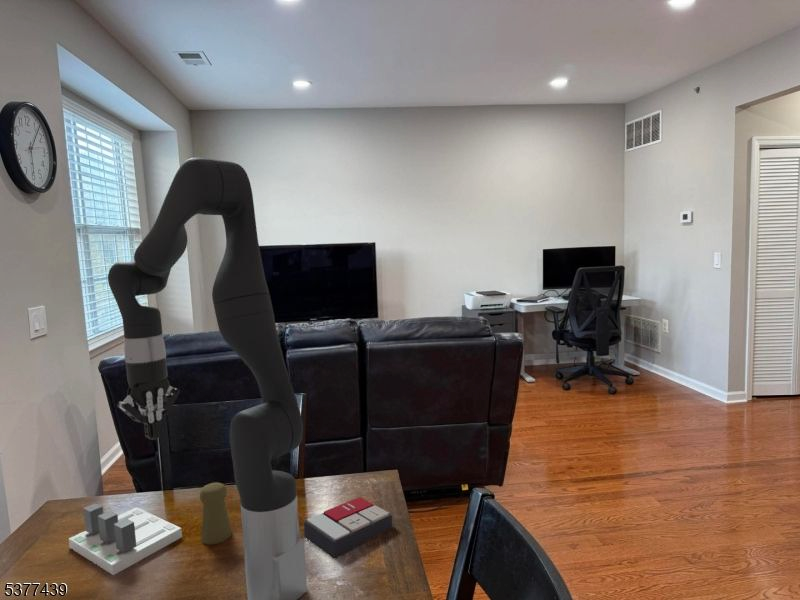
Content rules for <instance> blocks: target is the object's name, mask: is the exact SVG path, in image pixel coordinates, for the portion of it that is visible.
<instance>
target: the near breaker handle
mask: <svg viewBox="0 0 800 600" xmlns="http://www.w3.org/2000/svg"><path fill="white" fill-rule="evenodd" d="M114 531H115V541H116V549H118V550H120V551H121V552H123V553H125V552H127V551H129V550H131V549H133V548H135V547H136V537H135V527H134V522H133V521H131V520H129V519H127V518H126V519H124V520H122V521H119V522H117V523H115V524H114Z"/></svg>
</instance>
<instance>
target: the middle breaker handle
mask: <svg viewBox="0 0 800 600" xmlns="http://www.w3.org/2000/svg"><path fill="white" fill-rule="evenodd" d="M118 516H119V514H118V513H116V512H114V511H112V510H108V511H106V512H103V514H101V515H99V516H98V523H99V532H100V540H102V541H103V542H105V543H107V544H108V543H110V542H112V541H114V540H115V531H114V524H115V523H117V522H118Z"/></svg>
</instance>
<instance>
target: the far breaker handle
mask: <svg viewBox="0 0 800 600" xmlns="http://www.w3.org/2000/svg"><path fill="white" fill-rule="evenodd" d="M82 511H83V517H84V518H83V519H84V527H85V531H86V532H88V533H90V534H92V535H94V534H96V533H98V532H99V523H98V516H99V515H101V514H103V513H104V508H103V505H101V504H99V503H96V502H95V503H92V504H90V505H88V506H85V507H83V510H82Z"/></svg>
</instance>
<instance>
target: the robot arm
mask: <svg viewBox="0 0 800 600" xmlns="http://www.w3.org/2000/svg"><path fill="white" fill-rule="evenodd" d="M170 183H171V184H170V186H169V189H168V191H167V193H166V195H165V197H164V200H163V201H162V202H163V203H162V204H161V208H160V209H159V213H158V215H157V217H156V220H155V222H154V223H153V225H152V227H151V228H150V230H149V232H148V233H147V234H146V235H145V237H144V238H143V239H142V241H141V242H140V243H139V245H138V246H137V248H136V249H135V251H134V254H133V260H131V261H118V262H115V263H113V265H112V266H111V267H110V268H109V271H108V274H107V281H108V285H109V287H110V291H111V293H112V296H113V298H114V300H115V302H116V304H117V307H118V310H119V312H120V315H121V318H122V327H123V328H122V329H123V337H124V346H123V347H124V348H123V349H124V360H125V361H124V362H125V370H126V371H125V372H126V377H127V378H126V379H127V383H128V388H127V392H126V394H127V396H126V397H125V398H124V399H123V401H118V402H117V404H116V406H117V408H119V409H120V410H121V411H122V412H123V413H124V414H126V415H127V416H128V417H129V418H131V419H132V420H133V421H134V422H137V423H142V424H143V429H144V436H145V438H147V439H148V440H151V441H154V440H156V439H159V438H161V435H162V433H163V432H162V421H161V420H162V418H163V417H165V416H168V415H169V414H170V412H171V410H172V408H173V406H174V404H175V403H176V401H177V399H178V397H179V395H180V393H181V390H180V388H176V387H173V386H171V385H170V381H169V380H168V376H169V375H168V364H167V363H168V362H167V354H166V353H167V351H166V343H165V340H164V335H163V325H162V315H161V311H160V309H159V308H158V307H156V306H148V305H141V304H140V303H139V301H138V299H137V297H138V296H147V295H156V294H157V293H160V292H162V291H163V290H164V289H165V288H166V287H167V284H168V280H169V276H170V275H171V274H170V273H171V271H172V268H173V267H174V265H175V264H176V263H177V262H178V261H179V260H180V259H181V257H182V256H183V254H184V253H185V251H186V250H187V247H188V233H187V230H186V223H187V222H189V220H190V219H192V218H193V217H195V216H196V215H203V216H205V215H207V216H221V218H222V220H223V225H224V231H225V241H226V243H225V250H224V254H223V257H222V260H221V263H220V265H219V268H218V271H217V272H216V275H215V279H214V282H213V286H212V291H211V292H212V293H211V298H212V304H213V309H214V313H215V318H216V322H217V327H218V330H219V333H220V336H221V337H222V338H223V340H224V341H225V343H226V344H227V345H228V346H229V347H230V348H231V349H232V351H233V352H234V353H235V354H236V355H237V356H238V357H239V359H241V361H243V362H244V364H245V365H246V366H247V367H248V368H249V369H250V371H251V373H252V374H253V376H254V377H255V380H256V383H257V385H258V389H259V393H260V395H261V401H262V403H261V404H258V405H254V406H253V407H249V408H246V409H243V410H241V411H239V412H237V413H236V414H235V415H234V416H233V417H232V419H231V421H230V426H229V445H230V452H231V459H232V466H233V476H234V481H235V486H236V489H237V491H238V492H237V493H238V494H239V500H240V501H239V502H240V514H241V516H240V517H241V528H242V529H241V530H242V531H241V532H242V542H243V543H242V544H243V555H244V557H243V558H244V570H245V581H246V593H247V600H299V599H300V598H301V597H302V596H303V595H304V594H306V593H307V592H308V587H307V585H308V584H307V568H306V554H305V553H306V552H305V541H304V539H302V538H300V526H299V525H300V524H299V523H300V522H299V510H298V509H299V507H298V491H297V482H296V478H295V476H293V475H292V474H290V473H289V472H286V471H282V470H275V469H274V470H273V469H272V468H273V467H272V461H273V460H275V459H278V458H279V457H281V456H284V455H286V454H288V453H291V452H292V451H295V450H296V449H297V448H299V446H300V445H301V443H302V441H303V438H304V437H303V436H304V423H303V418H302V414H301V411H300V407H299V404H298V400H297V397H296V395H295V391H294V389H293V386H292V385H293V384H292V383H291V380H290V376H289V373H288V370H287V369H288V368H287V367H286V364H285V359H284V355H283V351H282V347H281V343H280V339H279V334H278V330H277V324H276V320H275V313H274V310H273V309H274V308H273V304H272V299H271V294H270V291H269V290H270V289H269V287H268V282H267V279H266V275H265V270H264V265H263V261H262V255H261V250H260V244H259V238H258V230H257V229H258V228H257V222H256V213H255V204H254V196H253V195H254V194H253V190H252V184H251V182H250V179H249V176H248V173H247V171H246V170H245V168H244V167H243V166H241V165H240V164H238V163H236V162H233V161H227V160H221V159H213V158H205V157H191V158H188V159H186V160H185V161H184V162H183V163H182V164H181V165H180V166H179V167H178V170H177V171H176V173H175V174H174V177H173V179H172V181H171V182H170ZM136 296H137V297H136ZM135 404H136V405H137V406H138V407H137V408H138V410H137V409H136V408H135Z"/></svg>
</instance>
